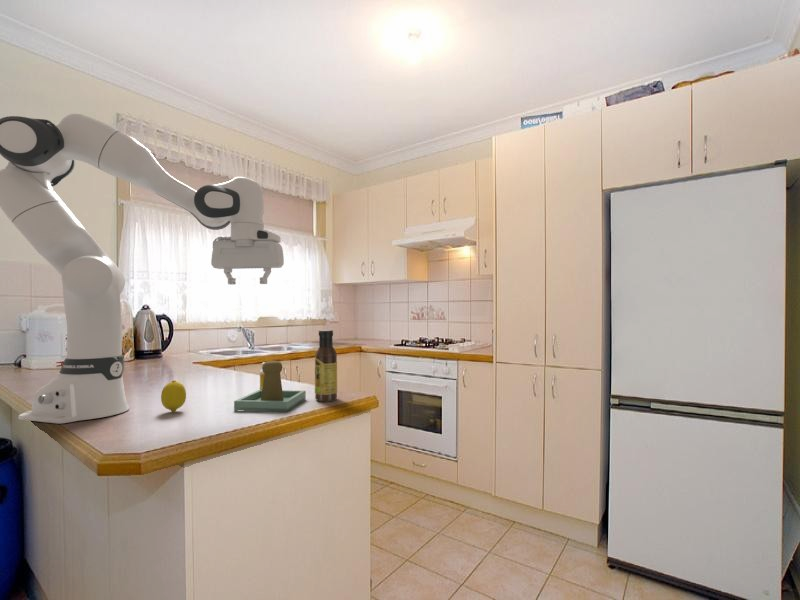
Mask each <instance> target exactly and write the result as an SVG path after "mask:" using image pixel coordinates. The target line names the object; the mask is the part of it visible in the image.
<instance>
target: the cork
mask: <svg viewBox="0 0 800 600" xmlns="http://www.w3.org/2000/svg"><path fill="white" fill-rule="evenodd" d="M264 362H265V363H264V364H263V366H262V365H261V367H262V368H261V370H263V372H264V380H263V388H262V395H261V401H284V399H283V391H282V390H283V386H282V377H281V372H282V370H283V364H282V362H281V361H278V360H269V361H264Z"/></svg>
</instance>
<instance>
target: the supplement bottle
mask: <svg viewBox="0 0 800 600" xmlns="http://www.w3.org/2000/svg"><path fill="white" fill-rule="evenodd" d="M265 362H266V361H264V362H262V363H261V367H262V366H263V364H264V363H265ZM263 380H264V372H263V370H262V369H261V370H260V371H259V390H262V388H263Z"/></svg>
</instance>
